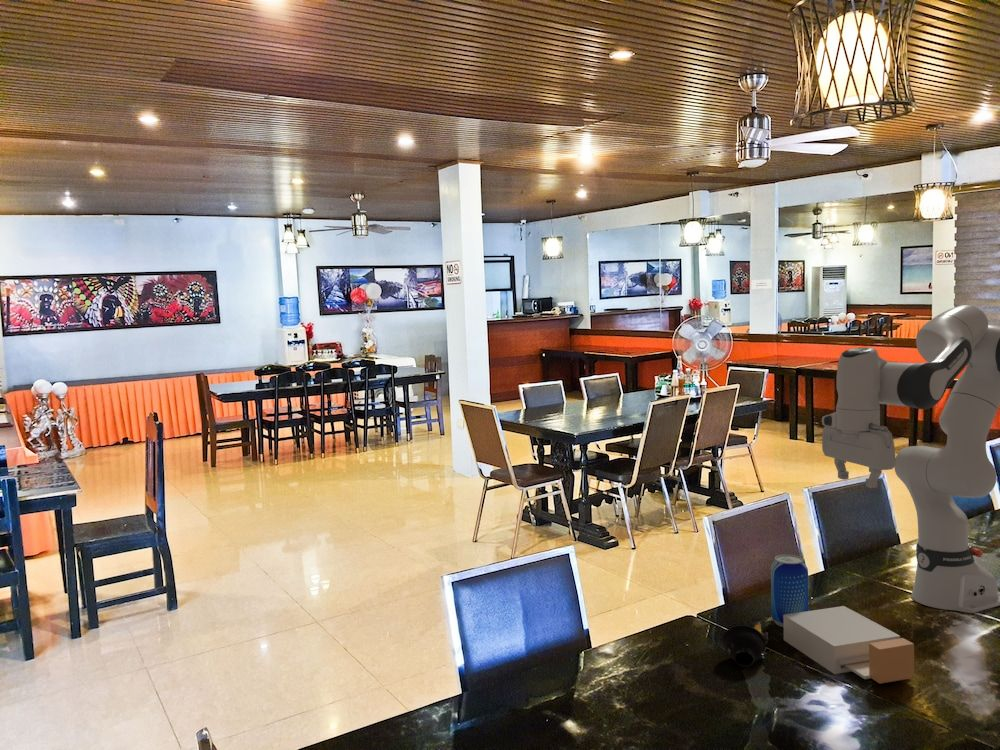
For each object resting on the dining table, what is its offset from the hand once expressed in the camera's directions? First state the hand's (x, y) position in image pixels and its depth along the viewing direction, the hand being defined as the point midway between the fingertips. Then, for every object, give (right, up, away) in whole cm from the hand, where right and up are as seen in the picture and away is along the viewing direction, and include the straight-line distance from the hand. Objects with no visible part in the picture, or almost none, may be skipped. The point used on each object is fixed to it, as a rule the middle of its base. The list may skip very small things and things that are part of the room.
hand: (856, 483), depth 173 cm
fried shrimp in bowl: (-24, -38, 0) cm, 45 cm away
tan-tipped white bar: (-3, -36, -7) cm, 37 cm away
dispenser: (-4, -37, -1) cm, 37 cm away
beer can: (-9, -36, +15) cm, 41 cm away
